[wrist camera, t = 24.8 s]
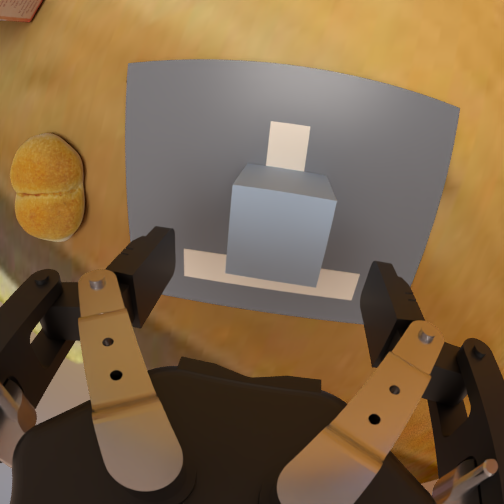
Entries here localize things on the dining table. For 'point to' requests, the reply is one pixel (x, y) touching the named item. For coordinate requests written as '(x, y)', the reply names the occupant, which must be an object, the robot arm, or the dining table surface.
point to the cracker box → (18, 10)
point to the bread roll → (48, 187)
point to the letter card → (289, 157)
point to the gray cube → (279, 224)
